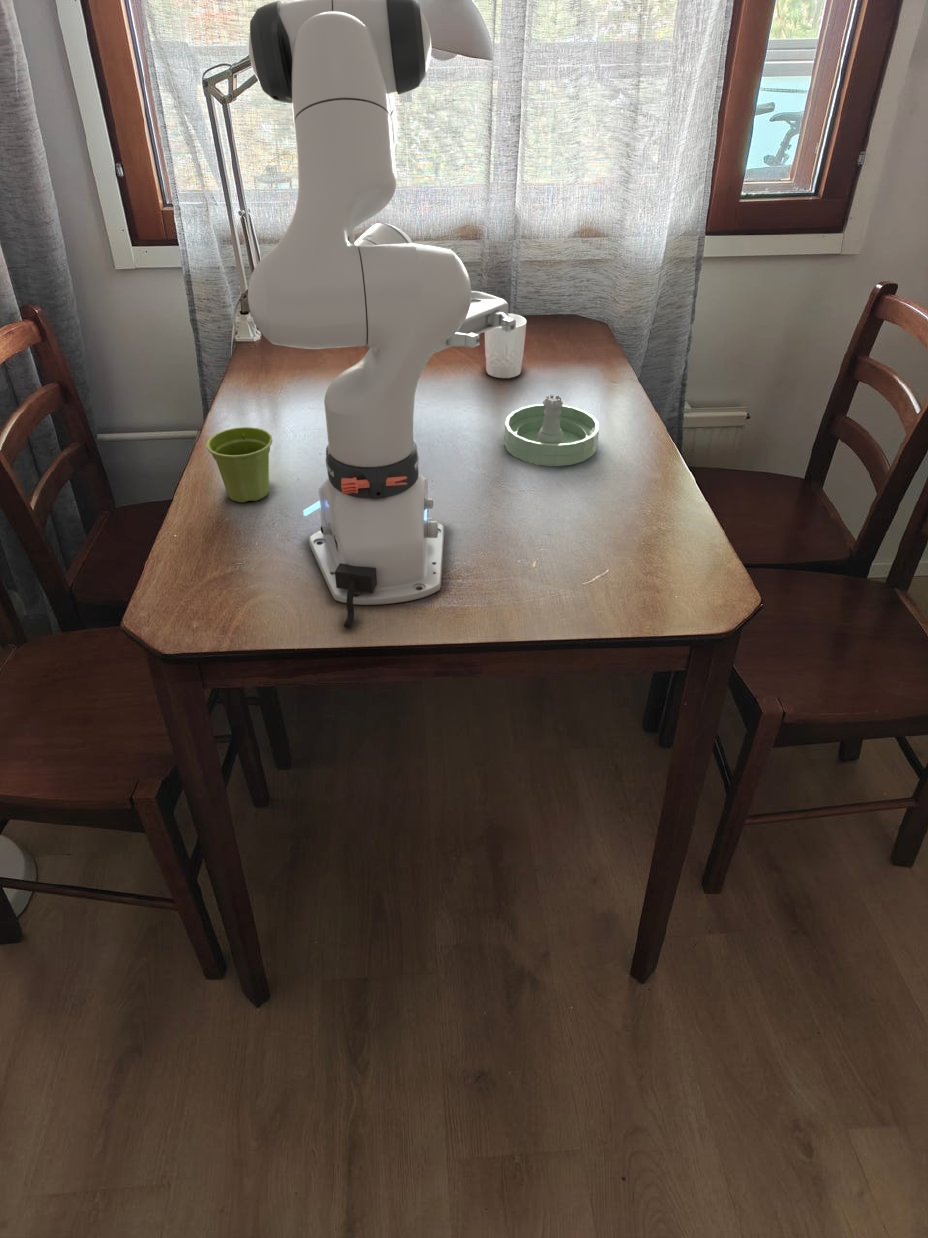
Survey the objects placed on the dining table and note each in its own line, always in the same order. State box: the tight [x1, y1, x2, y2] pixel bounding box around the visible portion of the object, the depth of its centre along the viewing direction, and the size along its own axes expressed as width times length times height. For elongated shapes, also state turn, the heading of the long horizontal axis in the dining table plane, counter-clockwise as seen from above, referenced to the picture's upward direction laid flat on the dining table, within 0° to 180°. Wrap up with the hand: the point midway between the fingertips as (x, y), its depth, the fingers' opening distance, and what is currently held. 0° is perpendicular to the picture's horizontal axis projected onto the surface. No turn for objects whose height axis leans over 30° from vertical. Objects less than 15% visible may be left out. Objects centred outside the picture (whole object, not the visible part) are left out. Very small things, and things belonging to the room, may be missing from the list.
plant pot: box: [206, 426, 273, 503], centre depth 130 cm, size 9×9×9 cm
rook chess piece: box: [537, 394, 564, 444], centre depth 142 cm, size 4×4×8 cm
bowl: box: [503, 403, 600, 467], centre depth 143 cm, size 15×15×4 cm
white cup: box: [484, 312, 527, 379], centre depth 166 cm, size 8×8×10 cm
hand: (495, 333), depth 141 cm, fingers open, 8 cm apart
